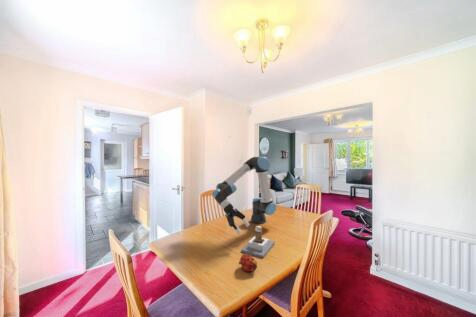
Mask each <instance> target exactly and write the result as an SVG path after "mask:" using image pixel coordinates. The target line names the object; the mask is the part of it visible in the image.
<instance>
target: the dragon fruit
mask: <svg viewBox="0 0 476 317" xmlns="http://www.w3.org/2000/svg"><path fill="white" fill-rule="evenodd" d="M239 260H240V261H238V265H241V269H242V271H246V272H247V273H253V271H256V269H258V264H257V263H258V262H257V260H255V259H254V258H253V257H252V255H250V254H247V253H244V254H242V255H241V256H240V258H239Z"/></svg>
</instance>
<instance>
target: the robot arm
mask: <svg viewBox="0 0 476 317" xmlns="http://www.w3.org/2000/svg"><path fill="white" fill-rule="evenodd" d="M270 167H271V162H270V160H269V158H268V157H266V156H253V157H250V158H249V159H247V160H246V161H245V162H243V163H242V166H240V168H238V169H237V170H235V171H234V172H233V173H232V174H231V175H229V176H228V177H227V178H226V179H225V180H224V181H222V182H219V183H217V184H216V187H215V188H216V189H215V190H213V191H212V193H211V195H212V197H213V198H214V200H215V201H216V202H217V204H218V205H219V206H220V207H221V209H222V210H223V211H224V213H225V215H224V217H225V218H226V220H227V223H228V226H229V227H230V228H233V229H234V230H235V231H236V233H237V234H240V233H241V232H242V230H241V229H240V228H239V226H238V225H237V224H236V223H235V219H234V218H235V217H237V219H240V220H241V222H243V224H244V225H245V226H246V227H247V228H249V226H250V223H249V222H248V221H247V219H246V216H245V214H243V213H242V212H241V211H240V210H238V209H237V208H234V206H233V205H232V203H231V202H230V200H228V197H229V196H231V195H232V194H234V193H235V192H236V191H237V190H238V189H237V186H236V185H235V184H236V183H237V181H239V180H240V179H241V178H242V177H244V176H245V175H246V174H247V173H248V172H251V171H254V170H255V173H256V174H257V177H258V178H257V179H258V184H259V191H260V197H254V198H253V199H252V202H251V204H252V214H251V218H250V222H251V223H253V224H265V223H267V217H266V215H268V216H273V215H274V214H275V212H276V210H277V205H276V203H275V202H274V200H273V198H272V197H271V191H270V190H271V189H270V184H269V183H270V182H269V176H268V172H269V169H270Z"/></svg>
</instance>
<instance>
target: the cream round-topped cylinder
mask: <svg viewBox="0 0 476 317" xmlns="http://www.w3.org/2000/svg"><path fill="white" fill-rule="evenodd" d="M254 230H255V234H254V236H255V242H256V243H260V244H262V238H263V237H262V236H263V235H262V234H263V233H262V230H263V229H262V226H260V225H255V228H254Z"/></svg>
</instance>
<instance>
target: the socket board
mask: <svg viewBox="0 0 476 317" xmlns="http://www.w3.org/2000/svg"><path fill="white" fill-rule="evenodd" d="M275 243H276V242H275V241H272V240H270V239H269V238H265V237H262V244H260V243H256V242H255V235H254V236H253V237H252V238H251V239H250V240H249V241H248V242H247V244H246V245H245V246H243V247H242V248H241V249H240V252H241V253H244V254H247V255H250V256H255V257H258V258H262V259H264V258H266V256H267V255H268V253H269V252H270V250H271V249H272V248H273V246H275Z"/></svg>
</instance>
